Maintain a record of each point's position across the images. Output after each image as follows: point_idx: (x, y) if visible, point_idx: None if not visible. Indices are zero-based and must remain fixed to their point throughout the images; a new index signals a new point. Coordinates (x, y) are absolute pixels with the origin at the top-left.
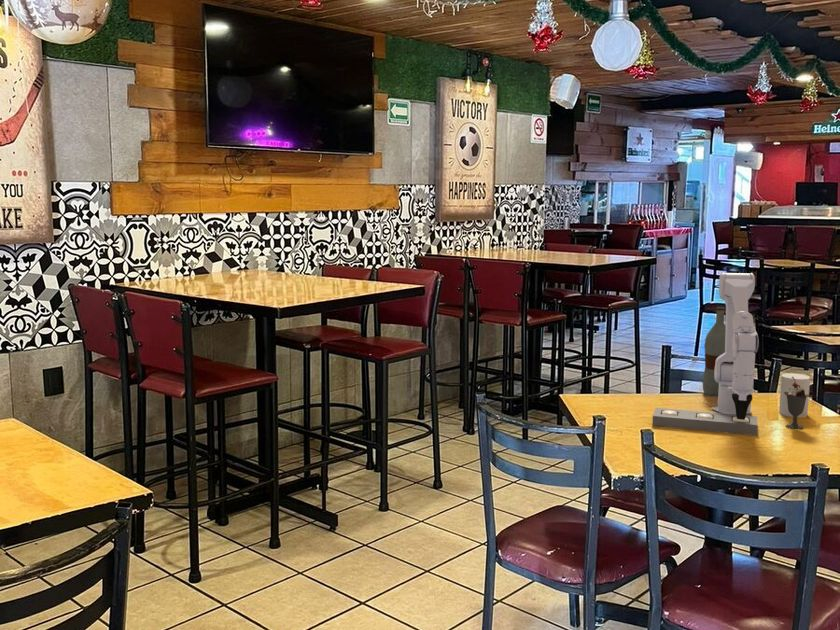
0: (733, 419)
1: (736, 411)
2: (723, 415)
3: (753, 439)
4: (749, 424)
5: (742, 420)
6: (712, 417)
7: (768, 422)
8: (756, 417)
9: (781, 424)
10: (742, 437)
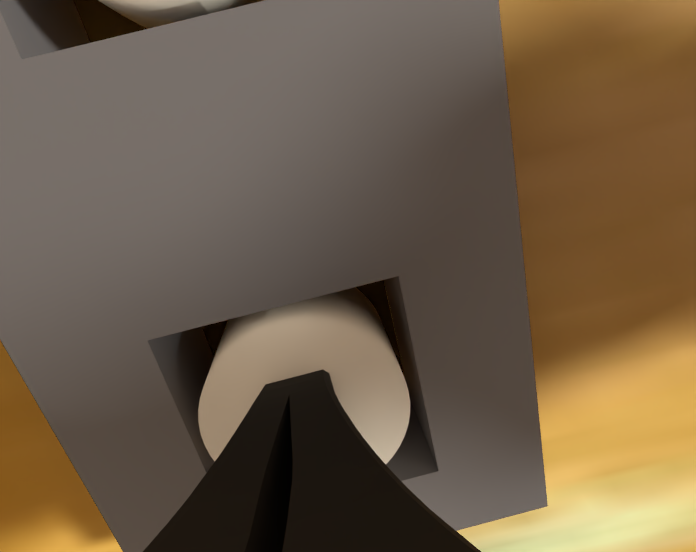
0: (237, 342)
1: (215, 465)
2: (386, 155)
3: (37, 518)
4: (129, 545)
5: None
6: (174, 2)
7: (669, 467)
8: (498, 516)
9: (642, 546)
10: (22, 435)
